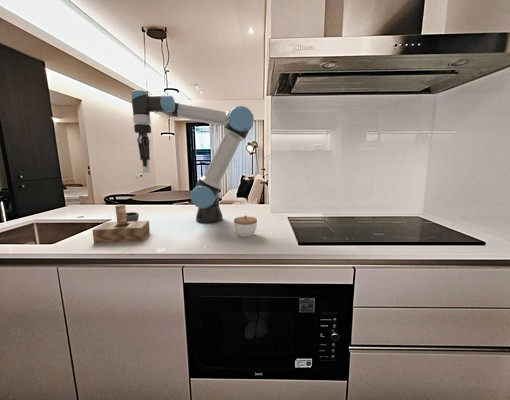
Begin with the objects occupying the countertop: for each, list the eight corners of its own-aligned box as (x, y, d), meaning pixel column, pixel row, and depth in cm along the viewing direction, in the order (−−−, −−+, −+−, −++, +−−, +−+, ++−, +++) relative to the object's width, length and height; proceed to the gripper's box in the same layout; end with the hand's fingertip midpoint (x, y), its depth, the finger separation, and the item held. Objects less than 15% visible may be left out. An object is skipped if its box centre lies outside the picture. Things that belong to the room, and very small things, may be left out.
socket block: (149, 232, 124) (148, 220, 123) (142, 240, 112) (141, 227, 111) (106, 234, 121) (104, 222, 120) (94, 243, 110) (92, 229, 109)
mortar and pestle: (143, 225, 137) (141, 203, 135) (131, 230, 128) (129, 206, 126) (124, 224, 139) (122, 202, 137) (112, 229, 130) (109, 206, 128)
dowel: (129, 233, 119) (126, 204, 117) (126, 236, 115) (123, 206, 112) (120, 234, 119) (117, 204, 116) (116, 237, 114) (113, 206, 112)
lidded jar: (261, 234, 120) (261, 215, 118) (245, 240, 112) (245, 220, 110) (245, 230, 127) (245, 212, 125) (229, 235, 119) (229, 216, 117)
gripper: (138, 125, 130) (142, 172, 134) (129, 122, 117) (134, 174, 121) (153, 126, 131) (157, 171, 135) (146, 123, 118) (150, 173, 122)
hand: (146, 172), depth 128 cm, fingers closed
